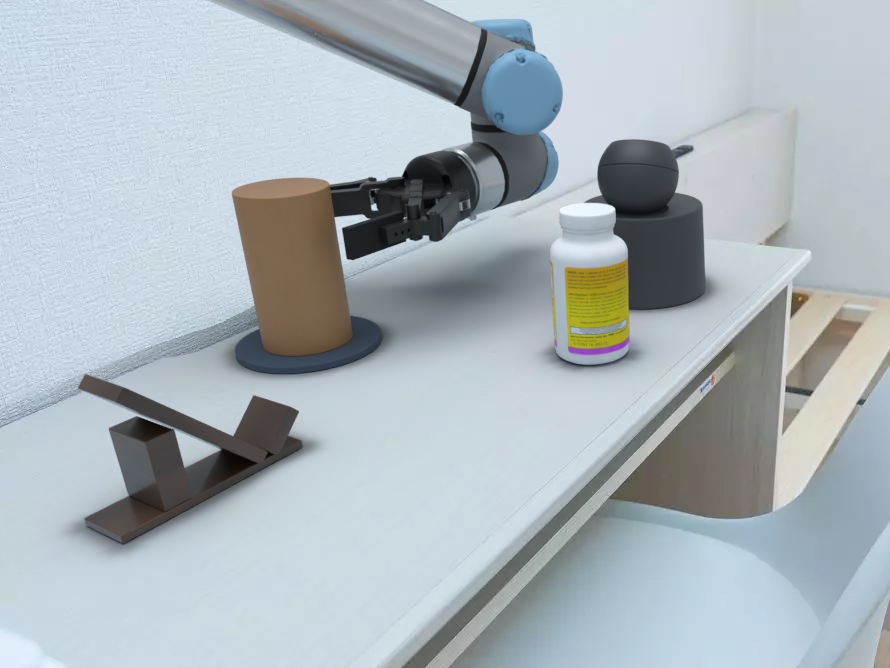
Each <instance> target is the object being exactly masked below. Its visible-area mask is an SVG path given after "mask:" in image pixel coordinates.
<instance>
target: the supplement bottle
mask: <svg viewBox="0 0 890 668" xmlns="http://www.w3.org/2000/svg"><path fill="white" fill-rule="evenodd" d="M558 212H559V214H558V224H559V225H560V229H561V230H562V235H561V236H559V237H558V238H556V239H555V240H554V241H553V243H552V244H551V246H550V248H549V266H550V267H549V268H550V285H551V301H552V303H551V304H552V320H553V322H552V323H553V337H554V338H553V339H554V340H553V341H554V349H555V352H556V354H557V355H558V356H559V357H560V358H561V359H563V360H565V361H566V362H569V363H572V364H576V365H577V364H578V365H585V366H586V365H587V366H592V365H593V366H595V365H603V364H608V363H613V362H616V361H617V360H619V359H621V358H623V357H625V355H627V353H628V351H629V349H630V309H629V294H628V249H627V246H626V244H625V242H624V241H623V240H622V239H621V238H620V237H618V236H616V235H614V234H613V227H614V226H615V225H614V224H615V222H616V212H615V208H614V207H613V206H611V205H607V204H601V203H584V202H580V203H572V204H567V205H565V206H562V207H561V208H560V209H559V211H558Z"/></svg>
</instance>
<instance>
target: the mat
mask: <svg viewBox="0 0 890 668" xmlns="http://www.w3.org/2000/svg"><path fill="white" fill-rule="evenodd" d="M350 319H351V325H352V331H353V336H352V338H351V339H350V340H349V341H348V342H347V343H346V344H344V345H342V346H340V347H338V348H336V349H333V350H330V351H327V352H323V353H319V354H313V355H306V356H281V355H275V354H272V353H269V352H267V351H266V350H265V349H264V348H263V344H262V339H261V334H260V330H259V328H257V329H256V330H254V331H251V332H250V333H247V334H246V335H245V336H244V337H242V338H241V339H240V340H239V341H238V342H236V345H235V348H234V354H235V359H236V361H237V362H238V364H240V365H241V366H242V367H244V368H246V369H249V370H252V371H256V372H260V373H267V374H285V375H286V374H303V373H304V374H305V373H312V372H318V371H319V372H320V371H323V370H329V369H334V368H336V367H340V366H344V365H347V364H349V363H352V362H355V361H357V360H360V359H362V358H364V357H366V356H367V355H369V354H370V353H372V352H373V351H375V350H376V349H377V348H378V347H379V345H380V344H381V342H382V340H383V339H382V338H383V335H382V330H381V327H380V326H379V325H378V324H377V323H376V322H374V321H372V320H369V319H368V318H364V317H361V316H355V315H350Z"/></svg>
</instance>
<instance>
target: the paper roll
mask: <svg viewBox="0 0 890 668" xmlns="http://www.w3.org/2000/svg"><path fill="white" fill-rule="evenodd" d="M330 185H331V184H330V182H329V181H327V180H325V179H321V178H317V177H315V178H313V177H284V178H272V179H266V180H258V181H254V182H250V183H246V184H242V185H240V186H237V187H235V188H234V189H233V190H232V191H231V198H232V202H233V207H234V212H235V217H236V218H235V219H236V221H237V228H238V232H239V236H240V237H239V238H240V241H241V247H242V251H243V255H244V260H245V266H246V271H247V275H248V280H249V285H250V290H251V294H252V299H253V300H252V301H253V306H254V310H255V314H256V319H257V325H258V329H259V330H260V334H261V339H262V344H263V348H264V349H265V350H266V351H267V352H269V353H272V354H275V355H281V356H306V355H313V354H319V353H323V352H327V351H330V350H333V349H336V348H338V347H340V346H342V345H344V344H346V343H347V342H348V341H349V340H350V339H351V338H352V336H353V331H352V325H351V319H350V316H351V314H350V306H349V300H348V295H347V288H346V281H345V275H344V269H343V262H342V256H341V250H340V243H339V237H338V230H337V224H336V217H334V211H333V204H332V198H331V191H330Z"/></svg>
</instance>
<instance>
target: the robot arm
mask: <svg viewBox="0 0 890 668" xmlns="http://www.w3.org/2000/svg"><path fill="white" fill-rule="evenodd" d="M207 1H208V2H210V3H212V4H214V5H217V6H219V7H222V8H224V9H227V10H229V11H231V12H234V13H235V14H239V15H241V16H243V17H245V18H248V19H250V20H253V21H255V22H257V23H260V24H261V25H264V26H267V27H269V28H272V29H274V30H276V31H279V32H281V33H283V34H286V35H288V36H290V37H292V38H295V39H298V40H299V41H302V42H305V43H306V44H309V45H312V46H314V47H316V48H319V49H322V50H323V51H326V52H328V53H331V54H333V55H335V56H338V57H340V58H342V59H345V60H347V61H350V62H352V63H354V64H357V65H359V66H360V67H361V66H362V67H364V68H366V69H369V70H370V71H373V72H375V73H378V74H380V75H382V76H384V77H386V78H387V77H388V78H390V79H393V80H394V81H397V82H399V83H402V84H404V85H406V86H409V87H411V88H413V89H416V90H418V91H420V92H422V93H425V94H427V95H430V96H432V97H435V98H437V99H439V100H442V101H444V102H446V103H448V104H451V105H454V106H455V107H458V108H459V109H461V110H464V111H465V112H469V114H470V130H471V140H472V141H471V142H466V143H462V144H457V145H454V146H449V147H446V148H443V149H441V150H436V151H433V152H429V153H425V154H421V155H418V156H415V157H413V158H412V159H410V161H408V163H407V164H406V166H405V168H404V170H403V173H402V175H401V176H391V177H387V178H386V179H385V180H378V179H377V177H373V176H368V177H367V178H361V179H357V180H353V181H346V182H338V183H332V184H331V183H330V184H329V185H330V191H331V198H332V204H333V211H334V217H335V218H340V217H341V218H343V217H352V216H364V217H365V218H366V220H363V221H360V222H356V223H353V224H350V225H346V226H344V227H341V231H342V232H341V233H342V238H343V245H344V251H345V257H346V260H348V261H355V260H359V259H361V258H364V257H367V256H369V255H372V254H375V253H378V252H381V251H383V250H386V249H389V248H391V247H394V246H397V245H401V244H403V243H407V240H410V241H414V242H418V241H421V240H423V239H424V236H426V237H427V236H428V240H429V241H430V242H433V243H438V242H440V241H442V240H444V239H445V238H446V236H447V235H448V234H449V233H450V232H451V231H452V230H453V229H454V228H455V227H456V226H457V225H458V224H459V223H460V222H462V221H465V220H466V219H468V220H469V221H476V220H477V219H478V215H480V214H483V213H487V212H489V211H493V210H496V209H499V208H502V207H504V206H507V205H511V204H513V203H517V202H523V201H525V200H528V199H531V198H532V197H533V196H536V195H538V194H539V193H542V192H543V191H545V190H546V189H548V188H549V187H550V186H551V185H552V184H553V182H555V180H556V178H557V174H558V171H559V162H560V161H559V155H558V152H557V150H556V148H555V146H554V141H552V139H551V138H550V136H548V135H547V134H546V133H545V132H544V131H545V130H546V129H547V128H548V127H549V126H550V125H551V124H552V123H553V122H554V121H555V120H556V118H557V117H558V115H559V113H560V112H561V107H562V105H563V99H564V90H563V89H564V88H563V84H562V80H561V78H560V77H561V76H560V75H559V72H558V71H557V70H556V68H555V66H554V63H552V62H551V61H550V60H549V59H548V57H547V56H545V54H542V53H541V52H539V51H536V50H537V49H536V44H535V42H534V35H533V33H534V31H533V27H532V24H531V23H530V22H529V21H528V20H526V19H524V18H523V19H521V18H494V19H476V20H471V21H470V20H469V21H468V20H466V19H465V18H463V17H461V16H458V15H456V14H454V13H451V12H449V11H447V10H445V9H443V8H441V7H439V6H437V5H435V4H432V3H431V2H428V1H427V0H207ZM374 205H375V206H376V207H375V208H376V210H373V209H372V206H374Z"/></svg>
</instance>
